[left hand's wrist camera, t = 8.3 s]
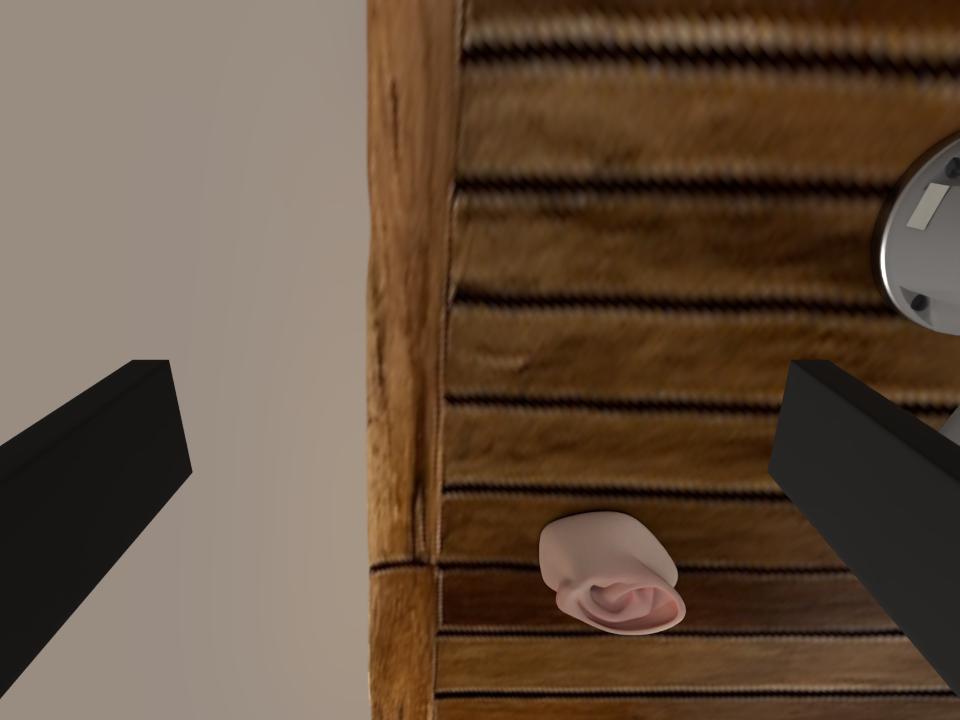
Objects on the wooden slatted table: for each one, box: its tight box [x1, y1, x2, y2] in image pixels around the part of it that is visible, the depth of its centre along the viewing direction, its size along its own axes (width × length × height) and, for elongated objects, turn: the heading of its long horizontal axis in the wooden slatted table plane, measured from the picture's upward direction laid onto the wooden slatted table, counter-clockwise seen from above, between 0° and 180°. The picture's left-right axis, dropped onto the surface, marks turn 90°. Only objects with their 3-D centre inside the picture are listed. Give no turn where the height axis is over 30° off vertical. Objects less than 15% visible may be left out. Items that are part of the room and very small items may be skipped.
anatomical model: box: [539, 512, 686, 635], centre depth 52 cm, size 13×4×12 cm
